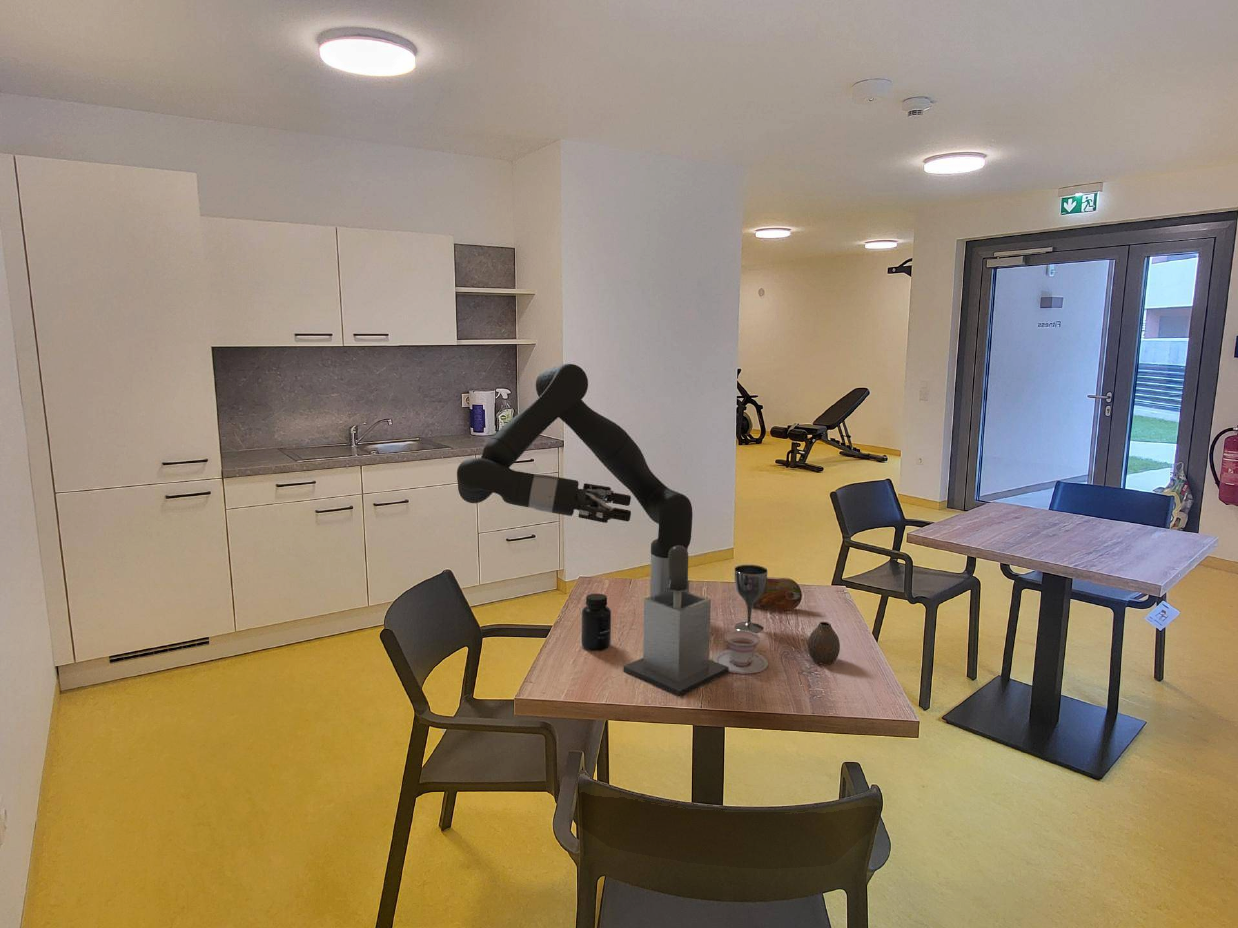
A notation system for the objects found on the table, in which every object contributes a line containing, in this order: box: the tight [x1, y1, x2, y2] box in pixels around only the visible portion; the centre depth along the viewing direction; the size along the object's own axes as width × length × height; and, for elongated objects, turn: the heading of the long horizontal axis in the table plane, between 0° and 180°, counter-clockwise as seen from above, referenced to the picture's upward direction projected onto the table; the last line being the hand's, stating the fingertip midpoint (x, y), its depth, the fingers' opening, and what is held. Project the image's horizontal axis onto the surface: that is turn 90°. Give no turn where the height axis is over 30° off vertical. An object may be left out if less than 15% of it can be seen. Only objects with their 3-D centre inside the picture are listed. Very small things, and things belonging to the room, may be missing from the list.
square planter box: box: [622, 590, 730, 697], centre depth 161 cm, size 16×16×16 cm
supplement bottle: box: [580, 593, 612, 652], centre depth 175 cm, size 7×7×12 cm
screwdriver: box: [668, 545, 689, 609], centre depth 160 cm, size 8×8×25 cm
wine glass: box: [733, 564, 768, 634], centre depth 186 cm, size 8×8×15 cm
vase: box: [807, 621, 841, 665], centre depth 167 cm, size 7×7×9 cm
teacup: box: [712, 629, 769, 675], centre depth 167 cm, size 12×12×6 cm
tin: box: [752, 576, 803, 612], centre depth 200 cm, size 15×3×8 cm, turn 77°
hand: (630, 508), depth 157 cm, fingers open, 8 cm apart
